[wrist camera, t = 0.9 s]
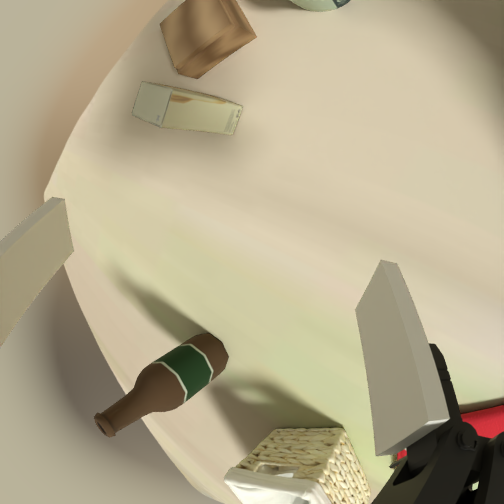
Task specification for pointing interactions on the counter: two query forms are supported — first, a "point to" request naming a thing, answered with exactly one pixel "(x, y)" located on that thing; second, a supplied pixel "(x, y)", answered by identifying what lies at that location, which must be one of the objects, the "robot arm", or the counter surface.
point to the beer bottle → (167, 382)
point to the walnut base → (204, 34)
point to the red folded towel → (480, 423)
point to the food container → (320, 4)
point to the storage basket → (301, 470)
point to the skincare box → (185, 109)
